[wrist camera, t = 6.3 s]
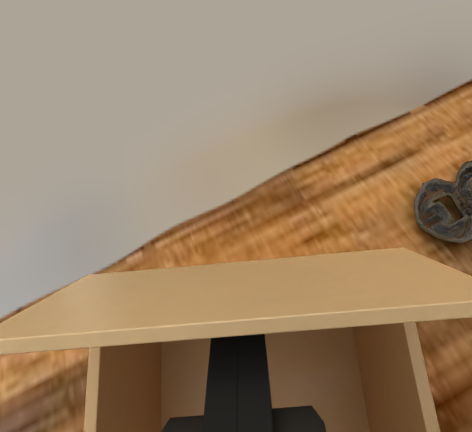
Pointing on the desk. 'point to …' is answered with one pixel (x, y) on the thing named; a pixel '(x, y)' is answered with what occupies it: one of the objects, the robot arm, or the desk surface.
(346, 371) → the carton
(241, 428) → the robot arm
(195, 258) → the desk surface
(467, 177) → the corroded twin loop
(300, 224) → the desk surface
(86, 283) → the flap
